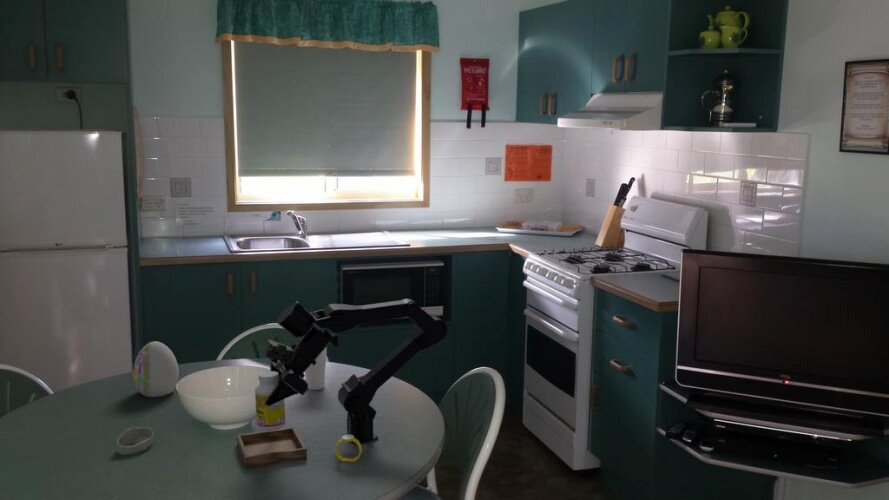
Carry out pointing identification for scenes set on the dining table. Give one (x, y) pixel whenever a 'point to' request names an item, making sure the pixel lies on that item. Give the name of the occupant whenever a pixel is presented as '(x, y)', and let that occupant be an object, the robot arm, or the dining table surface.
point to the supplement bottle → (274, 413)
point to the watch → (348, 439)
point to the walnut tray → (271, 447)
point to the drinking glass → (317, 373)
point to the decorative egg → (155, 370)
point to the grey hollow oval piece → (131, 436)
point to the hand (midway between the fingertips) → (264, 399)
